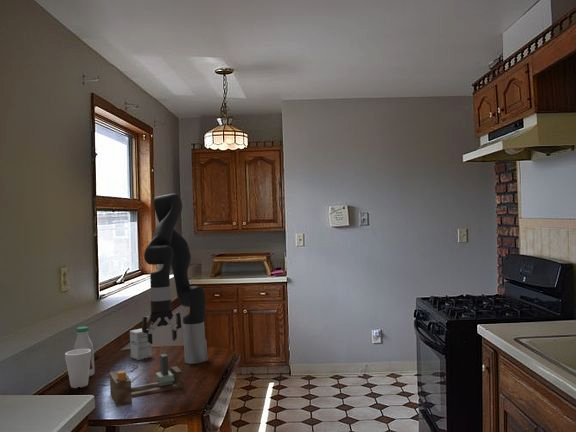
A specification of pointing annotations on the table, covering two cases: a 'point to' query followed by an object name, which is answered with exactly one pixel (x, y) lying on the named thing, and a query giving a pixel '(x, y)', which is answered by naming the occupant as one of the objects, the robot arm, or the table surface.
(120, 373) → the button
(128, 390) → the brown mechanism housing
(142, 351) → the supplement box
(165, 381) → the sliding handle
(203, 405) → the table surface
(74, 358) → the foam cup
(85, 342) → the milk bottle
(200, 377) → the table surface
